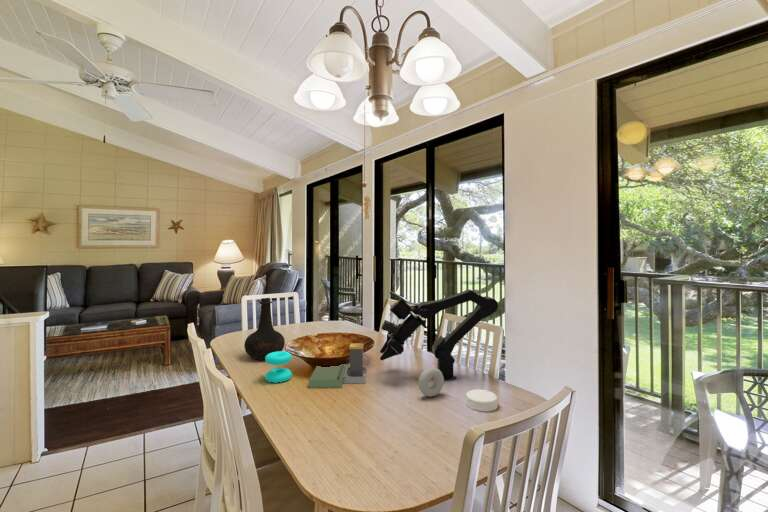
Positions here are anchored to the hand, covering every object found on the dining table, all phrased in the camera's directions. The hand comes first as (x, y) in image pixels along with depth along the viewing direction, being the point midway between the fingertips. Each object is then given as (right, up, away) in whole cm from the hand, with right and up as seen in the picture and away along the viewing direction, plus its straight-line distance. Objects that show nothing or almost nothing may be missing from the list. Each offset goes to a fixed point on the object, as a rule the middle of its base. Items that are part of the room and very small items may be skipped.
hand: (380, 355), depth 143 cm
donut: (+18, -9, -18) cm, 27 cm away
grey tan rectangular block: (-9, -9, 0) cm, 13 cm away
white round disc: (+33, -10, -25) cm, 43 cm away
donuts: (-40, -9, -1) cm, 41 cm away
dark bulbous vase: (-55, -8, +28) cm, 62 cm away
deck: (-16, -9, 0) cm, 18 cm away
